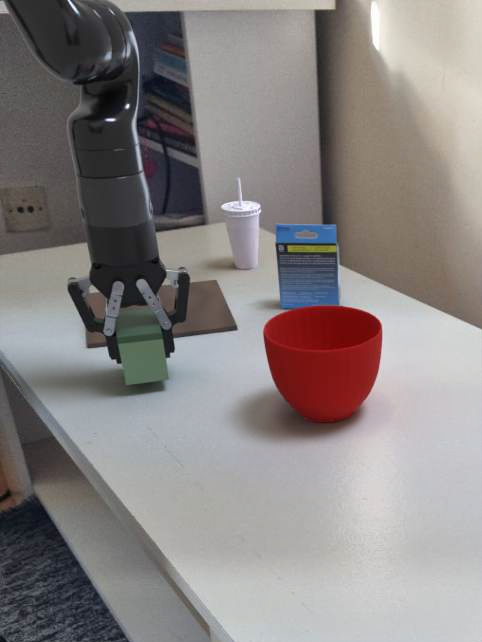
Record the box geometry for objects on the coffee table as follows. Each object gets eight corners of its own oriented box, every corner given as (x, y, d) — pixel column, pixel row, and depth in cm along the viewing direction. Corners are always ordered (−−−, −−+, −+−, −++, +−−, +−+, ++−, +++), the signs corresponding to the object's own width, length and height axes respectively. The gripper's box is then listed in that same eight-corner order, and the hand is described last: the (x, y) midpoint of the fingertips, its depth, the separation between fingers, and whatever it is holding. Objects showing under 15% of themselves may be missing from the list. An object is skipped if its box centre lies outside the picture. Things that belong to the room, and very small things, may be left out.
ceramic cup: (403, 377, 100) (404, 299, 94) (364, 443, 86) (362, 357, 81) (305, 365, 102) (300, 289, 97) (252, 428, 89) (243, 343, 83)
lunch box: (126, 385, 95) (116, 337, 91) (122, 358, 101) (113, 312, 98) (169, 379, 96) (161, 332, 93) (163, 353, 102) (155, 308, 99)
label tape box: (341, 300, 121) (338, 216, 114) (339, 310, 118) (336, 224, 111) (283, 299, 121) (277, 216, 114) (280, 309, 118) (273, 224, 111)
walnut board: (88, 348, 107) (87, 343, 107) (85, 297, 123) (84, 293, 122) (237, 329, 112) (237, 325, 112) (216, 283, 128) (216, 279, 127)
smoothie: (229, 273, 131) (219, 183, 123) (225, 261, 136) (215, 174, 128) (268, 269, 133) (260, 180, 125) (262, 258, 138) (255, 171, 130)
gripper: (180, 201, 93) (199, 340, 103) (49, 210, 89) (81, 353, 99) (187, 218, 87) (206, 363, 97) (47, 229, 83) (82, 379, 93)
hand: (143, 357), depth 98 cm, fingers closed on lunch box, 5 cm apart
